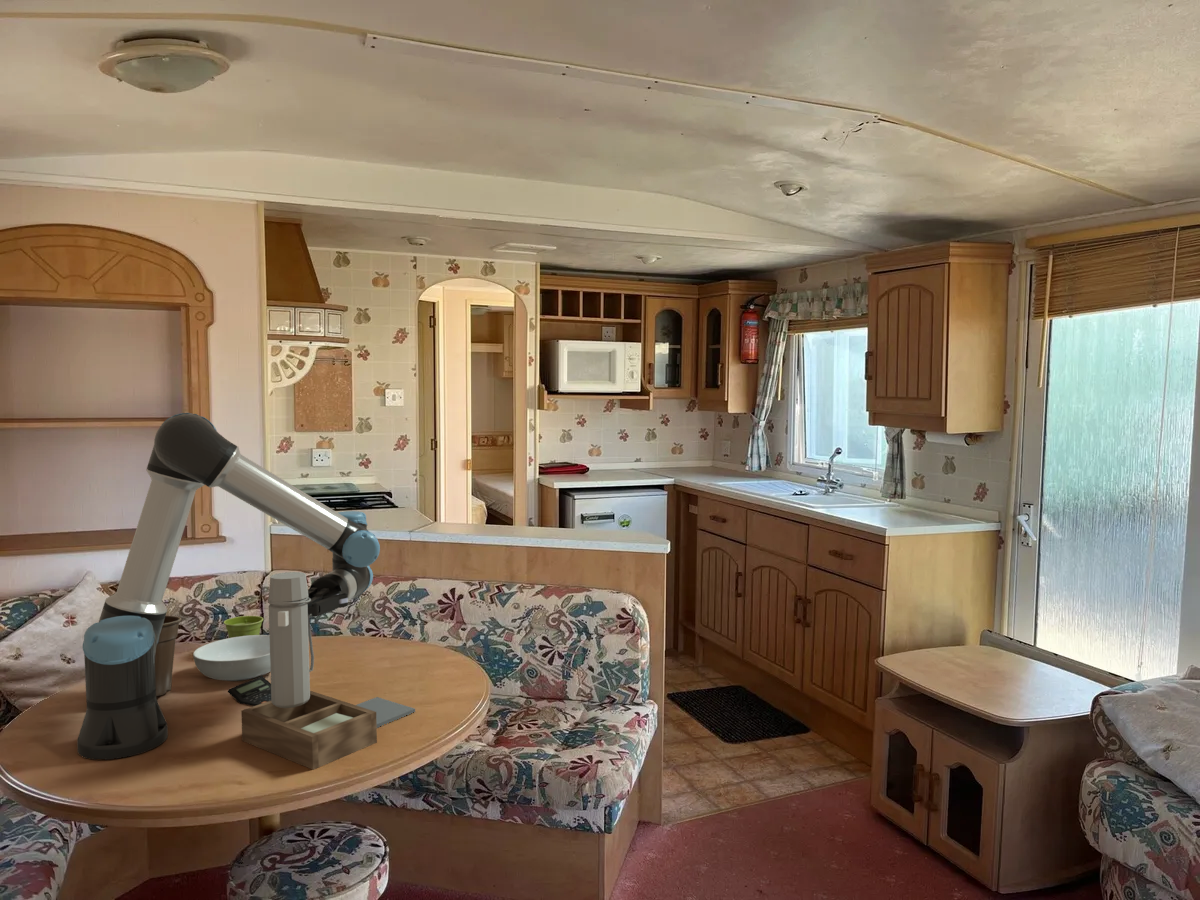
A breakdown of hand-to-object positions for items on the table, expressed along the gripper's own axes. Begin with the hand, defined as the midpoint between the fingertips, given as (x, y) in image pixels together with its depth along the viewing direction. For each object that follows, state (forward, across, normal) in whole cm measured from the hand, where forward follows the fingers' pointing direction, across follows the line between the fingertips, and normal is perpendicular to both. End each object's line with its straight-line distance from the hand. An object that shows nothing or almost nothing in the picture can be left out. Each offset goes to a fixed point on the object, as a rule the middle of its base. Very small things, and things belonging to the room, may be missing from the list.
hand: (281, 619), depth 160 cm
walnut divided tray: (-3, -4, -25) cm, 25 cm away
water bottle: (-5, 0, -18) cm, 19 cm away
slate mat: (-17, -11, -24) cm, 32 cm away
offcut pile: (0, -9, -25) cm, 26 cm away
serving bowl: (-39, +29, -25) cm, 55 cm away
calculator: (-25, +17, -25) cm, 39 cm away
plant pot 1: (-23, +44, -25) cm, 55 cm away
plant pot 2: (-56, +37, -25) cm, 71 cm away
